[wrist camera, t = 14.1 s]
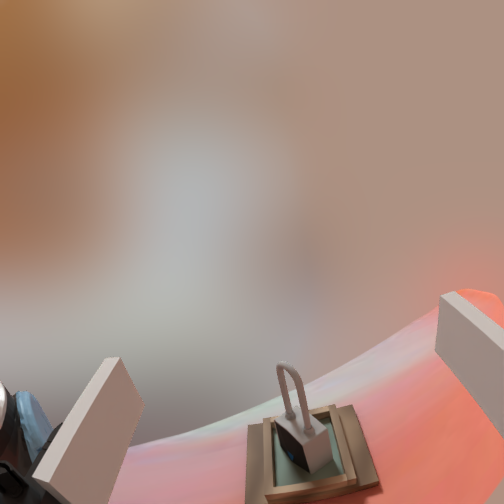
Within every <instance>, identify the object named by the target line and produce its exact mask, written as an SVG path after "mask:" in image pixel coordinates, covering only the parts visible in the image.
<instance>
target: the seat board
mask: <svg viewBox="0 0 504 504" xmlns="http://www.w3.org/2000/svg"><path fill="white" fill-rule="evenodd" d="M308 411H309V414H311V415H312V416H313V417H314V418H316V419H317V420H318V421H319V422H320V423H321V424H323V425H324V426H325V427H326V428H327V429H328V433H329V438H330V443H331V449H332V454H333V460H332V461H330V462H329V463H327V464H326V465H325V466H323V467H322V468H320V469H319V470H318V471H316V472H315V473H313V474H310V473H309V472H307V471H305V470H304V469H302V468H301V467H299V466H298V465H296V464H295V463H293V462H292V461H291V460H290V458H289V457H288V456H287V454H286V453H285V452H284V450H283V449H282V447H281V446H280V444H279V440H278V436H277V432H276V428H275V424H274V419H276V418H277V417H279V416H276V417H270V418H263V423H260V424H253V425H248V438H247V464H246V489H245V504H300V503H306V502H312V501H317V500H322V499H327V498H332V497H336V496H340V495H345V494H349V493H352V492H356V491H360V490H363V489H367V488H370V487H374V486H377V485H378V482H379V480H378V477H377V474H376V471H375V468H374V465H373V462H372V459H371V456H370V453H369V450H368V447H367V444H366V442H365V439H364V436H363V433H362V430H361V427H360V425H359V422H358V419H357V416H356V414H355V411H354V408H353V405H348V406H344V407H340V408H336V405H335V404H334V405H330V406H325V407H321V408H317V409H312V410H308Z"/></svg>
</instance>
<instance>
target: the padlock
mask: <svg viewBox="0 0 504 504" xmlns="http://www.w3.org/2000/svg"><path fill="white" fill-rule="evenodd" d="M276 369H277V375H278V380H279V384H280V388H281V392H282V397H283V401H284V405H285V409H286V412H285V413H284V414H282V415H281V416H279V417H277V418H276V419H274V424H275V428H276V432H277V436H278V440H279V444H280V446H281V447H282V449H283V450H284V452H285V453H286V454H287V456H288V457H289V458H290V460H291V461H292V462H293V463H295V464H296V465H298V466H299V467H301V468H302V469H304V470H305V471H307V472H309V473H310V474H313V473H315V472H316V471H318V470H319V469H320V468H322V467H323V466H325V465H326V464H327V463H329V462H330V461H332V460H333V454H332V449H331V443H330V438H329V433H328V429H327V428H326V427H325V426H324V425H323V424H321V423H320V422H319V421H318V420H317V419H316V418H314V417H313V416H312V415H311V414H309V411H308V406H307V401H306V396H305V391H304V387H303V383H302V380H301V378H300V376H299V374H298V372H297V371H296V370H295V369H294V367H293V366H291V365H290V364H289V363H287V362H285V361H281V362H279V363H278V364H277V367H276ZM283 369H285V370H286V371H287V372H288V373H289V374H290V375H291V377H292V378H293V380H294V382H295V386H296V389H297V393H298V398H299V402H300V407H301V408H300V407H298V406H295V407H294V408H292V407H291V403H290V399H289V394H288V390H287V385H286V381H285V376H284V371H283Z"/></svg>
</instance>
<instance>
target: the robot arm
mask: <svg viewBox="0 0 504 504" xmlns="http://www.w3.org/2000/svg"><path fill="white" fill-rule="evenodd" d="M435 351H436V353H437V354H438V355H439V356H440V357H441V359H442V360H443V361H444V362H445V363H446V365H447V366H448V367H449V368H450V369H451V371H452V372H453V373H454V374H455V376H456V377H457V378H458V379H459V381H460V382H461V383H462V384H463V386H464V387H465V388H466V389H467V391H468V392H469V393H470V394H471V396H472V397H473V398H474V400H475V401H476V402H477V403H478V405H479V406H480V407H481V409H482V410H483V411H484V413H485V414H486V415H487V417H488V418H489V419H490V421H491V422H492V423H493V425H494V426H495V428H496V429H497V430H498V432H499V433H500V434H501V436H502V437H503V439H504V329H502V328H501V327H500V326H499V325H498V324H496V323H495V322H494V321H493V320H491V319H490V318H489V317H488V316H486V315H485V314H484V313H482V312H481V311H480V310H479V309H477V308H476V307H475V306H473V305H472V304H471V303H470V302H468V301H467V300H466V299H464V298H463V297H462V296H460V295H459V294H458V293H456V292H455V291H453V292H450V293H447V294H444V295H440V303H439V316H438V327H437V336H436V345H435ZM144 406H145V404H144V403H143V401H142V399H141V397H140V395H139V394H138V392H137V390H136V388H135V386H134V384H133V382H132V380H131V378H130V376H129V374H128V372H127V370H126V368H125V366H124V364H123V362H122V360H121V358H120V357H116V358H106V359H105V360H104V361H103V363H102V364H101V366H100V367H99V369H98V370H97V372H96V373H95V375H94V376H93V378H92V379H91V381H90V382H89V384H88V385H87V387H86V388H85V390H84V391H83V393H82V394H81V396H80V398H79V399H78V401H77V402H76V404H75V405H74V407H73V408H72V410H71V412H70V413H69V415H68V416H67V418H66V420H65V421H64V423H61V424H60V425H58V426H57V427H56V428H55V429H54V430H53V428H52V426H51V424H50V422H49V420H48V418H47V417H46V415H45V413H44V411H43V410H42V408H41V406H40V404H39V403H38V401H37V400H36V398H35V397H34V396H33V395H32V394H31V393H29V392H27V391H23V392H20V391H18V392H17V393H16V394H15V395H13V396H11V395H10V393H9V392H8V391H7V389H6V388H5V386H4V385H3V383H2V382H1V380H0V504H108V501H109V498H110V495H111V493H112V490H113V487H114V484H115V482H116V479H117V476H118V473H119V471H120V468H121V465H122V463H123V460H124V457H125V455H126V452H127V449H128V447H129V444H130V442H131V439H132V436H133V434H134V431H135V428H136V426H137V424H138V421H139V418H140V416H141V413H142V410H143V408H144Z"/></svg>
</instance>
